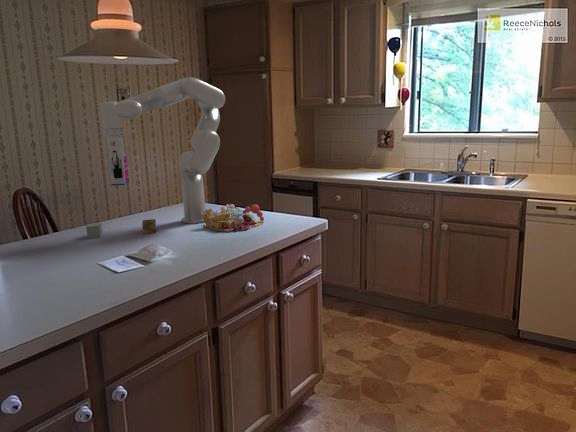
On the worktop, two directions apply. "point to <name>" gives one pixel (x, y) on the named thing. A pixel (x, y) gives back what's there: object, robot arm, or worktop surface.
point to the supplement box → (125, 177)
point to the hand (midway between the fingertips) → (119, 176)
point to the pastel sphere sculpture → (232, 218)
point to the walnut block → (149, 226)
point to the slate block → (94, 230)
